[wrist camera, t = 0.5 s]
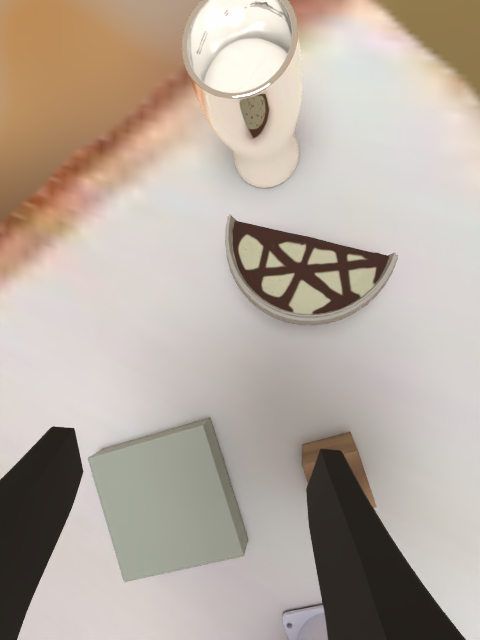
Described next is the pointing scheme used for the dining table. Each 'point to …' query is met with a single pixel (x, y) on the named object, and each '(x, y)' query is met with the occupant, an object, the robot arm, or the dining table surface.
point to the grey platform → (168, 501)
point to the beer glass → (248, 81)
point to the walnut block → (350, 453)
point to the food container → (303, 274)
